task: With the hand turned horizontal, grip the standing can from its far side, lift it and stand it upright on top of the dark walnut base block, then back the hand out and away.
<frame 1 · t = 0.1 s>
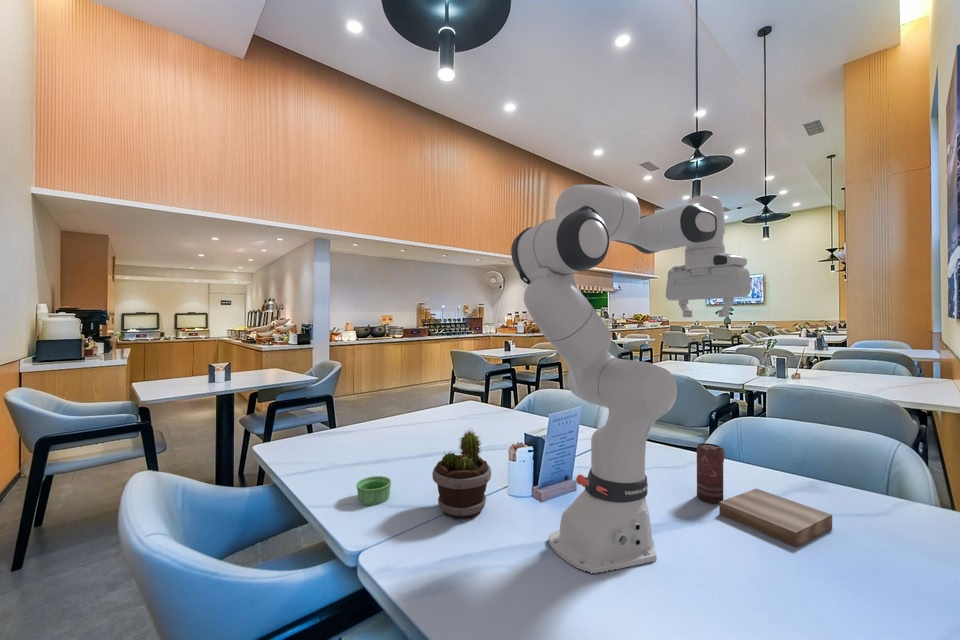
hand: (704, 317, 101), 48 cm above the table, tool pointing down, fingers open, 8 cm apart
walnut base: (773, 520, 94), on the table
can: (710, 499, 105), on the table
ramekin: (374, 499, 107), on the table
flowerpot: (462, 510, 100), on the table
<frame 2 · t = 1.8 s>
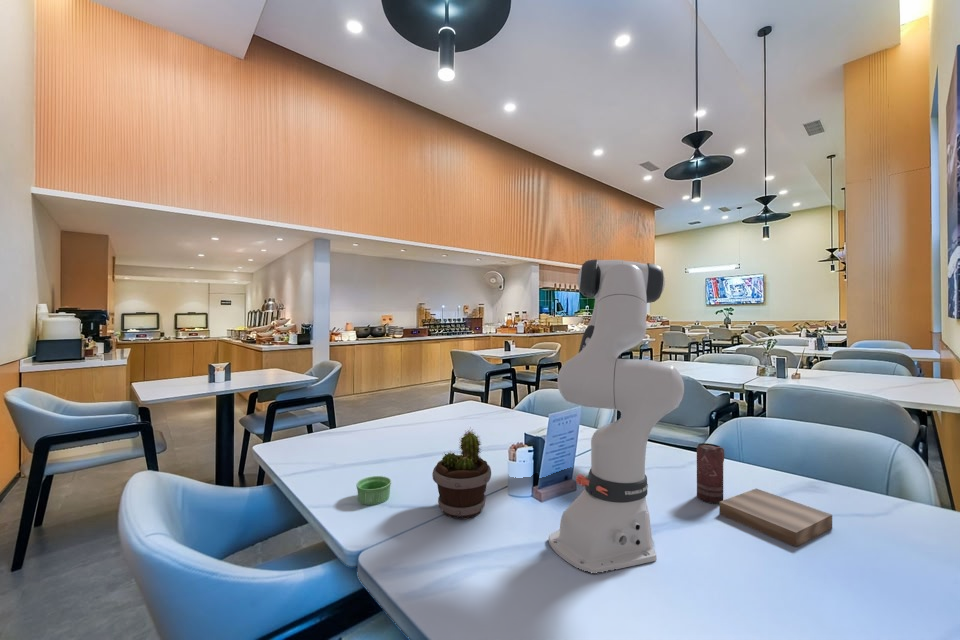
hand: (666, 407, 117), 22 cm above the table, tool horizontal, fingers open, 8 cm apart
nothing on the table moved.
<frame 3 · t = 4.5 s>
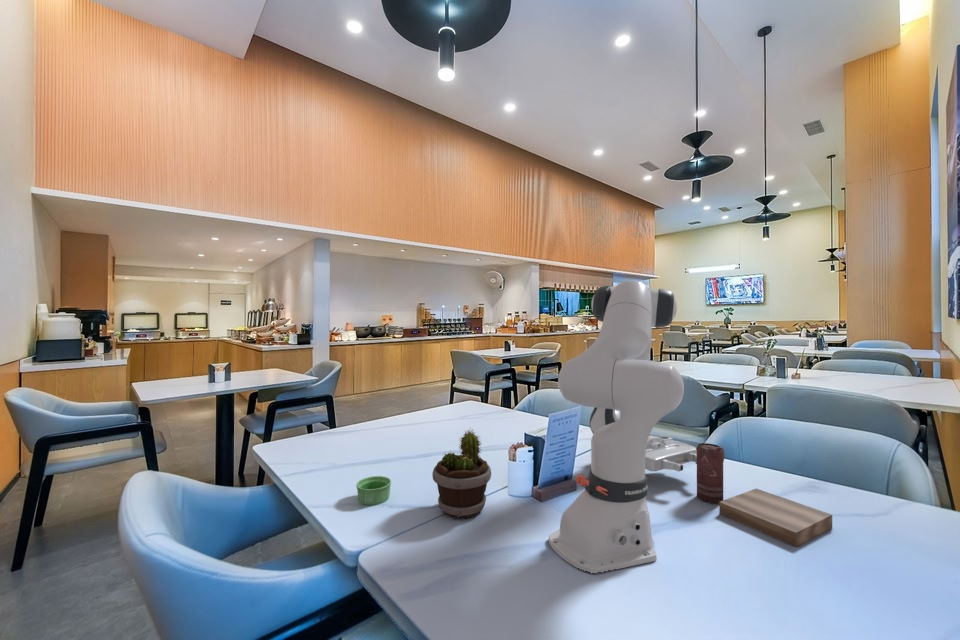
hand: (692, 465, 110), 7 cm above the table, tool horizontal, fingers open, 8 cm apart
nothing on the table moved.
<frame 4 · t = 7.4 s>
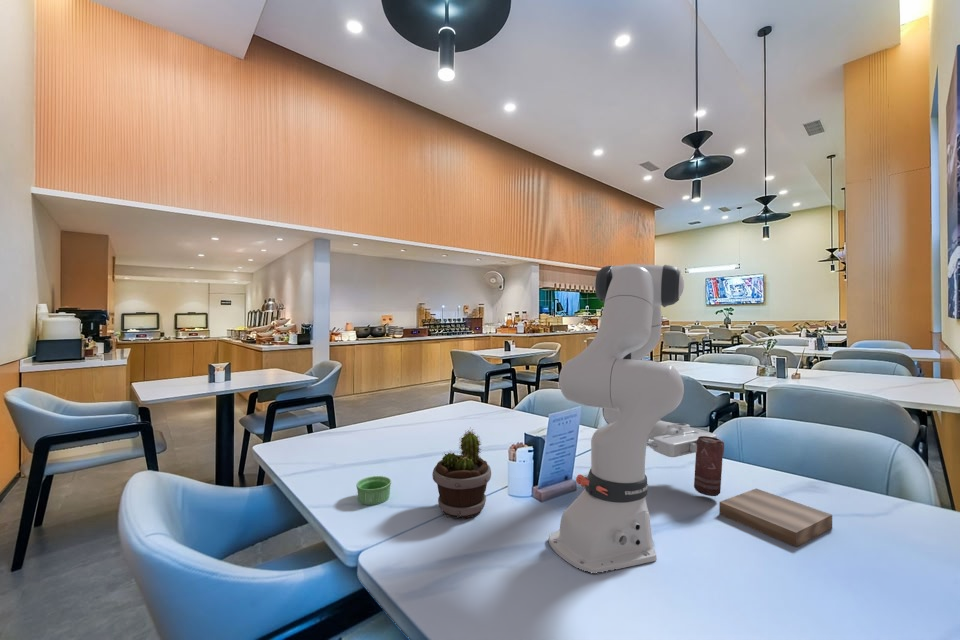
hand: (713, 451, 104), 13 cm above the table, tool horizontal, fingers closed, pressing on can
can: (707, 492, 106), point 2 cm above the table, touching gripper
everything else where it was.
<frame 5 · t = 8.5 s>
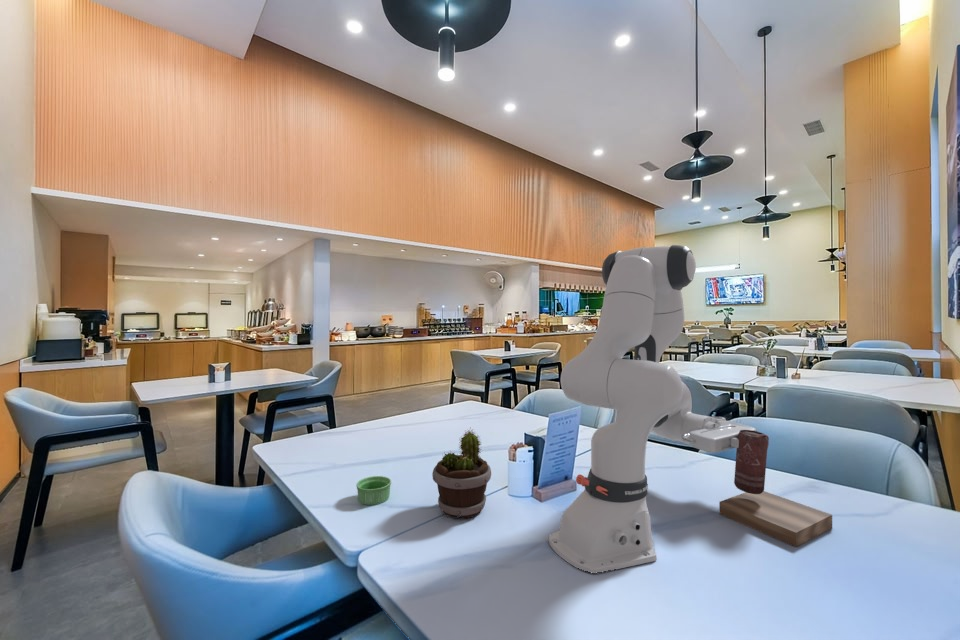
hand: (757, 446, 97), 17 cm above the table, tool horizontal, fingers closed, pressing on can
can: (749, 489, 99), point 5 cm above the table, touching gripper
everything else where it was.
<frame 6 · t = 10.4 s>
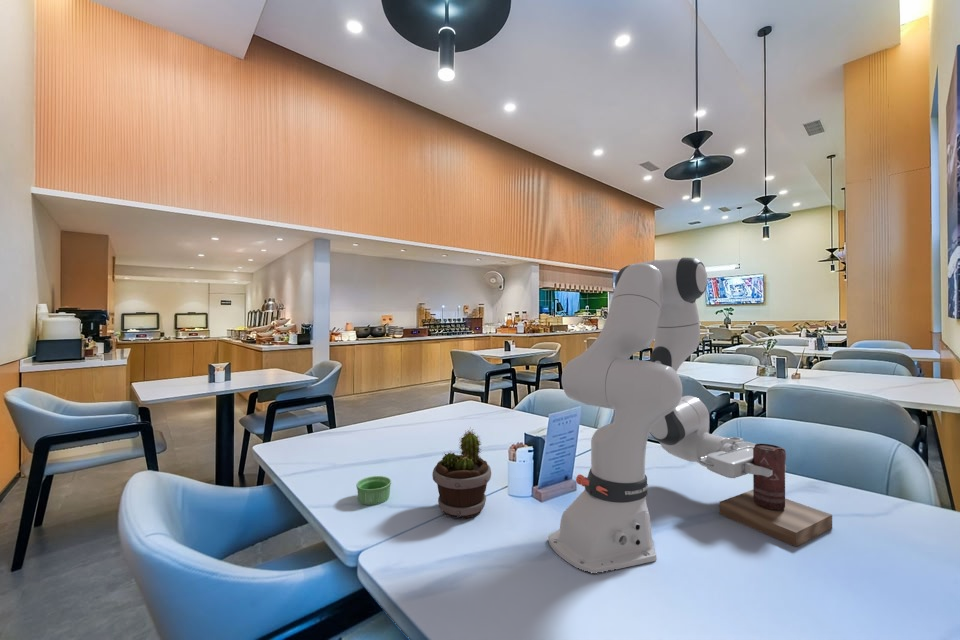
hand: (778, 470, 93), 12 cm above the table, tool horizontal, fingers open, 4 cm apart
can: (769, 506, 95), point 3 cm above the table, touching walnut base
everything else where it was.
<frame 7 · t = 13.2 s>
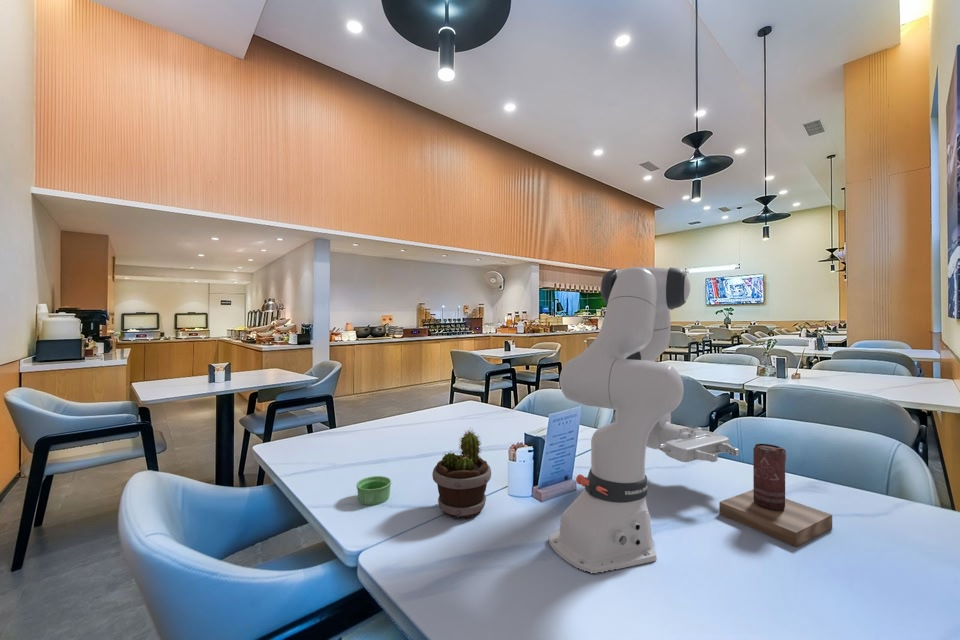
hand: (727, 455, 104), 12 cm above the table, tool horizontal, fingers open, 8 cm apart
nothing on the table moved.
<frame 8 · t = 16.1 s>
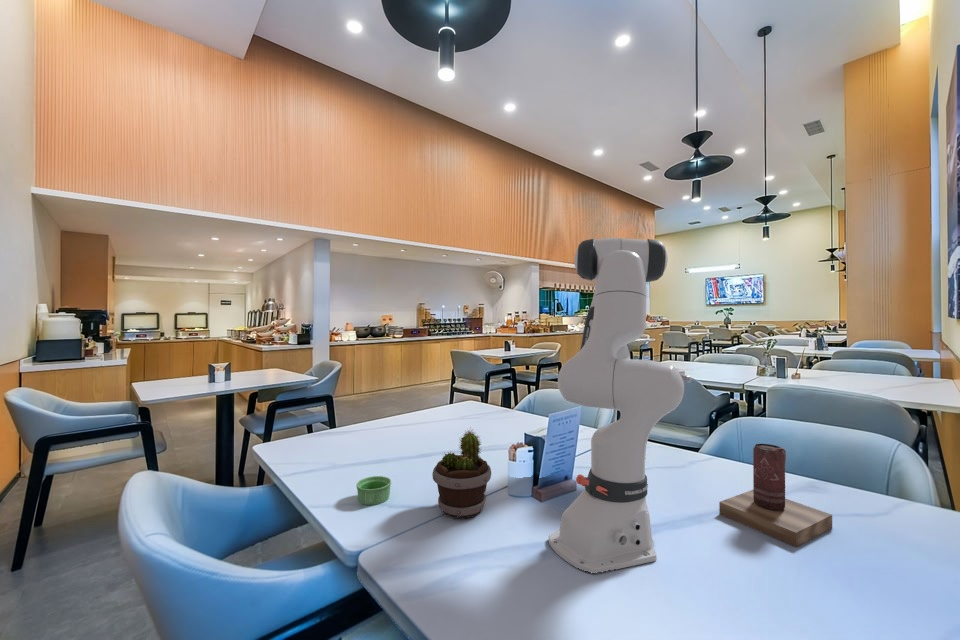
hand: (678, 380, 113), 30 cm above the table, tool horizontal, fingers open, 8 cm apart
nothing on the table moved.
at the end: can inside the target area on the walnut base (1.2 cm from its centre), point 2.8 cm above the walnut base's base; can tilted 0°; the gripper is holding nothing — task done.
